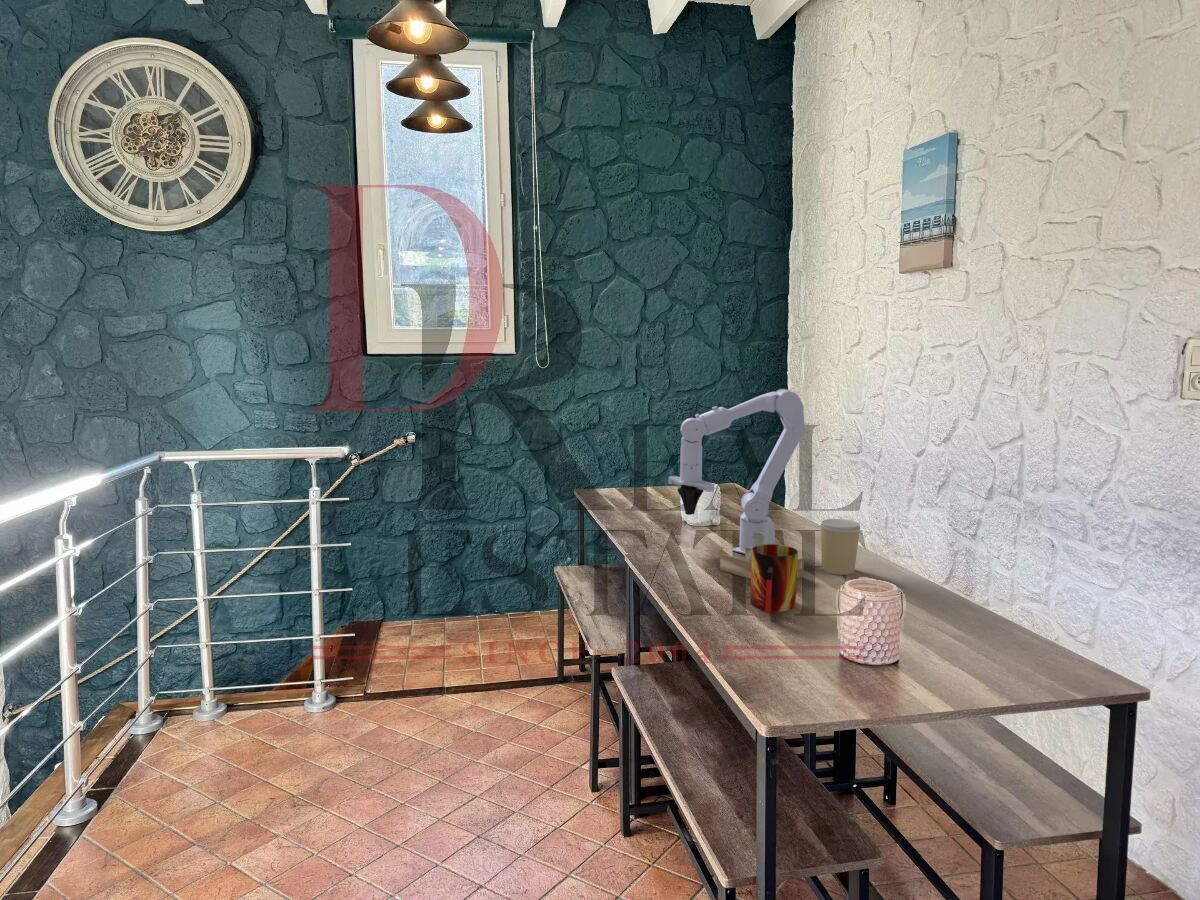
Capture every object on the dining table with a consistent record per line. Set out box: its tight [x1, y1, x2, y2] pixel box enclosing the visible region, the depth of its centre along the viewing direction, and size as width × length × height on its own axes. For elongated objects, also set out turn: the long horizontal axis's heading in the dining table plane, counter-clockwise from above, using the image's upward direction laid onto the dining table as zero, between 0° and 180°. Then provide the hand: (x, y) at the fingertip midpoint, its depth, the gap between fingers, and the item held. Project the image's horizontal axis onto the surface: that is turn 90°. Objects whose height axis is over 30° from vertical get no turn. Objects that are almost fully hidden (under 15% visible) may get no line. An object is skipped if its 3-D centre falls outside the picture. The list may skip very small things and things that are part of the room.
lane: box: [719, 547, 805, 581], centre depth 195 cm, size 11×17×5 cm, turn 41°
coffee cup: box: [820, 518, 861, 576], centre depth 198 cm, size 9×9×12 cm
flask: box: [747, 533, 764, 562], centre depth 195 cm, size 7×7×10 cm
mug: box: [749, 544, 799, 615], centre depth 172 cm, size 10×14×12 cm
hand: (689, 514), depth 214 cm, fingers closed
